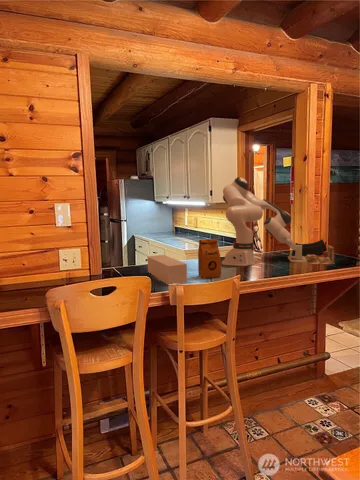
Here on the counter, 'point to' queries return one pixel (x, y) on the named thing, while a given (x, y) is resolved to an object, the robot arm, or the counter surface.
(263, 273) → the counter surface
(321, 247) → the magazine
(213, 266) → the coffee package
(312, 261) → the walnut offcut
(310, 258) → the oak offcut
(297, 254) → the board
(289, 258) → the tray
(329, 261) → the rack
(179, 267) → the pinkish brown block
